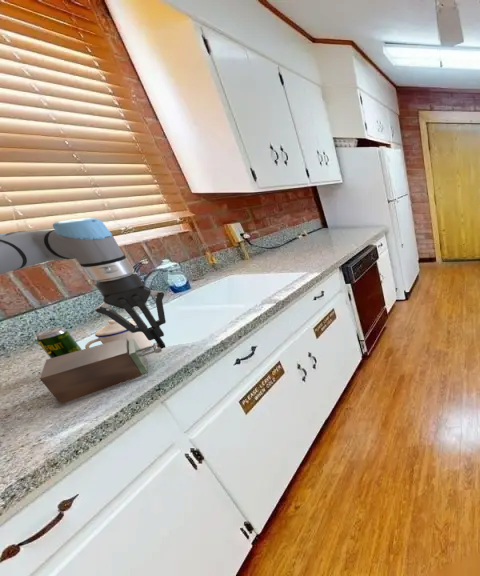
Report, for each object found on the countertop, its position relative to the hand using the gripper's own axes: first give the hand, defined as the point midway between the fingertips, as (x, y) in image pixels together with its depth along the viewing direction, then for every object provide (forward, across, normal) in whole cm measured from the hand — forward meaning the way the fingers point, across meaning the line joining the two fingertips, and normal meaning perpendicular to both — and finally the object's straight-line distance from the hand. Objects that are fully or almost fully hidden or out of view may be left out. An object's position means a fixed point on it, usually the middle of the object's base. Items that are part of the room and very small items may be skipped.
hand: (162, 346), depth 90 cm
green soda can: (+5, -19, +19) cm, 27 cm away
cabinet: (+5, -13, 0) cm, 14 cm away
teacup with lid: (+5, -9, +16) cm, 19 cm away
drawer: (+4, -9, 0) cm, 10 cm away
